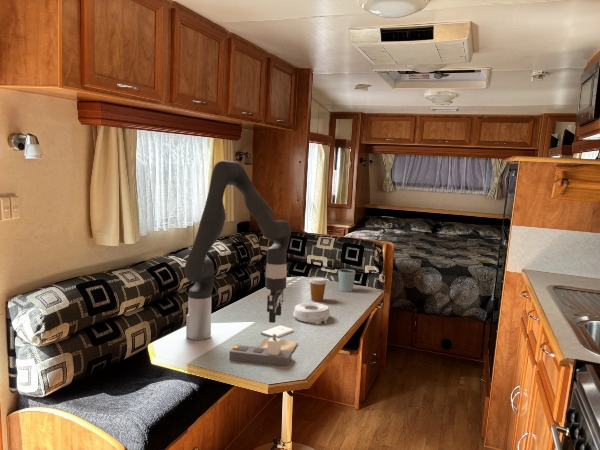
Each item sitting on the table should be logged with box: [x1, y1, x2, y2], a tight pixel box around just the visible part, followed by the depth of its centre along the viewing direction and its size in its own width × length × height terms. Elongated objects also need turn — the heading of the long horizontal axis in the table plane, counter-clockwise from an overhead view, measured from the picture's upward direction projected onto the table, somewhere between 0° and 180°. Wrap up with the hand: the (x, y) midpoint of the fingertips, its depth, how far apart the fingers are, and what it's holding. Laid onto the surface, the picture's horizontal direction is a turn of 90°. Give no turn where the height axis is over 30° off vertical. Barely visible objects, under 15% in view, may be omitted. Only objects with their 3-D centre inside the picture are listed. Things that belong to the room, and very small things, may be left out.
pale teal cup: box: [337, 268, 356, 293], centre depth 276 cm, size 10×10×12 cm
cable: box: [292, 302, 330, 325], centre depth 222 cm, size 18×18×6 cm
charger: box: [267, 334, 282, 356], centre depth 170 cm, size 4×4×10 cm
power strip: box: [229, 344, 293, 367], centre depth 171 cm, size 22×7×4 cm, turn 78°
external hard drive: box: [260, 325, 295, 338], centre depth 200 cm, size 2×8×12 cm
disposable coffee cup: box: [308, 276, 327, 303], centre depth 252 cm, size 10×10×12 cm
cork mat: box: [257, 338, 299, 353], centre depth 185 cm, size 14×10×1 cm
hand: (275, 318), depth 169 cm, fingers open, 8 cm apart
